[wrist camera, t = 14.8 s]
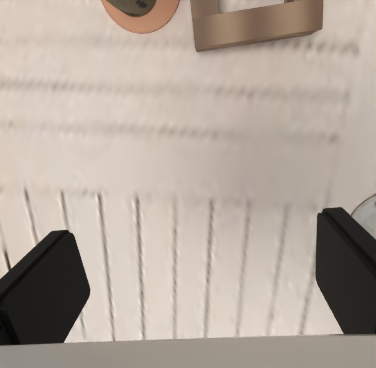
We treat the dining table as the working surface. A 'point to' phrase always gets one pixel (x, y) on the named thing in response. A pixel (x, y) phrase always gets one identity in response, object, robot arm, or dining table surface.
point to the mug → (133, 6)
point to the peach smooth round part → (147, 23)
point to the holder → (253, 23)
